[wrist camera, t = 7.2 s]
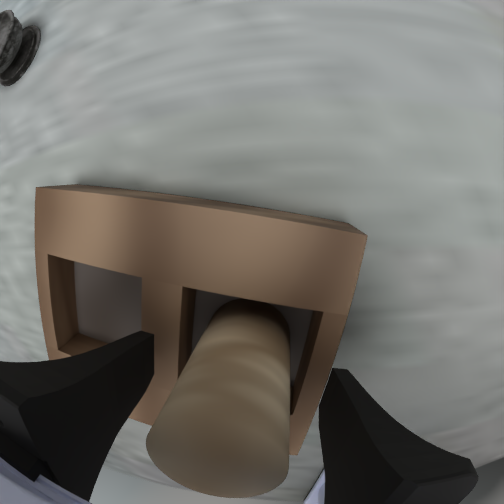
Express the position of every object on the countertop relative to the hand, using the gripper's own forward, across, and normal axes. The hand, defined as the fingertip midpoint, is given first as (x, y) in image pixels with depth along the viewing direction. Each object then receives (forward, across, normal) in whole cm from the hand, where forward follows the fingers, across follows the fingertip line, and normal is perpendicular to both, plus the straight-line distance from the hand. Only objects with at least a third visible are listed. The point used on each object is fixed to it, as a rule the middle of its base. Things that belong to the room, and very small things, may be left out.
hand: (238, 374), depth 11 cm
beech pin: (+3, 0, 0) cm, 3 cm away
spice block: (+5, +4, 0) cm, 6 cm away
